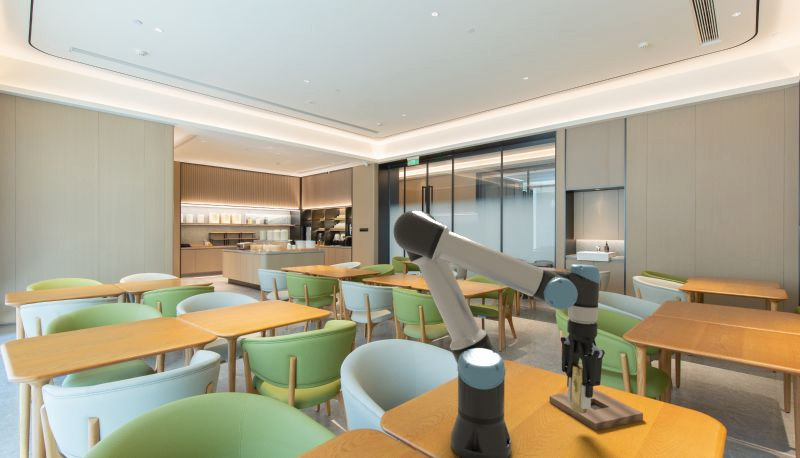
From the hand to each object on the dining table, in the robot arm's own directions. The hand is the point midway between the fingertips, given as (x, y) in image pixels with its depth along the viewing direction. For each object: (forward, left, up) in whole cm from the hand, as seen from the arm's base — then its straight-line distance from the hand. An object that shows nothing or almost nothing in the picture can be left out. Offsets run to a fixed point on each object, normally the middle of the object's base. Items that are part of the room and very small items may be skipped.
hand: (578, 403), depth 106 cm
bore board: (+13, +7, -7) cm, 16 cm away
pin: (0, 0, -2) cm, 2 cm away
